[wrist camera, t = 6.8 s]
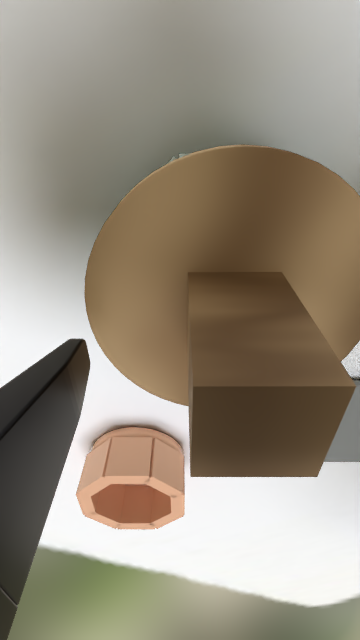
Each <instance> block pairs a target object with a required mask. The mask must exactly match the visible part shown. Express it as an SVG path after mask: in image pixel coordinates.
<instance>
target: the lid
mask: <svg viewBox="0 0 360 640" xmlns="http://www.w3.org/2000/svg"><path fill="white" fill-rule="evenodd" d="M85 303H86V311H87V315H88V319H89V323H90V326H91V329H92V331H93V334H94V336H95V338H96V340H97V342H98V344H99V346H100V347H101V349H102V351H103V352H104V354H105V355H106V356H107V358H108V359H109V360H110V361H111V363H112V364H113V365H114V366H115V367H116V368H117V369H118V370H119V371H120V372H121V373H122V374H123V375H124V376H125V377H127V378H128V379H129V380H131V381H132V382H133V383H135V384H136V385H137V386H139V387H141V388H142V389H144V390H146V391H147V392H149V393H151V394H153V395H156V396H158V397H160V398H162V399H165V400H168V401H171V402H174V403H177V404H181V405H186V406H189V436H190V473H191V477H317V476H318V474H319V471H320V469H321V467H322V464H323V462H324V460H325V457H326V455H327V453H328V451H329V448H330V446H331V444H332V441H333V439H334V437H335V434H336V432H337V430H338V428H339V425H340V423H341V421H342V418H343V416H344V414H345V411H346V409H347V407H348V405H349V402H350V400H351V398H352V395H353V393H354V391H355V388H356V385H355V383H354V382H353V380H352V379H351V377H350V376H349V374H348V373H347V371H346V370H345V368H344V366H343V365H342V363H341V361H342V360H343V359H344V358H345V357H346V356H347V355H348V354H349V353H350V352H351V350H352V349H353V348H354V347H355V345H356V344H357V343H358V342H359V340H360V196H359V195H358V194H357V192H356V191H355V190H354V189H353V188H352V187H351V186H350V185H349V184H348V183H347V182H345V181H344V180H343V179H342V178H341V177H340V176H339V175H337V174H336V173H334V172H333V171H331V170H329V169H328V168H326V167H324V166H323V165H321V164H320V163H318V162H315V161H313V160H310V159H308V158H305V157H303V156H300V155H298V154H295V153H292V152H289V151H285V150H281V149H276V148H272V147H268V146H258V145H244V144H241V145H229V146H218V147H214V148H209V149H205V150H200V151H196V152H193V153H191V154H188V155H186V156H183V157H180V158H178V159H175V160H173V161H171V162H170V163H168V164H166V165H164V166H162V167H161V168H159V169H157V170H155V171H154V172H152V173H151V174H150V175H148V176H147V177H146V178H145V179H143V180H142V181H141V182H139V183H138V184H137V185H136V186H135V187H134V188H133V189H132V190H131V191H130V192H129V193H128V194H127V195H126V196H125V197H124V198H123V199H122V200H121V201H120V203H119V204H118V205H117V207H116V208H115V210H114V211H113V212H112V214H111V215H110V216H109V218H108V219H107V221H106V222H105V223H104V225H103V227H102V229H101V231H100V233H99V235H98V236H97V238H96V240H95V242H94V245H93V248H92V251H91V254H90V257H89V260H88V265H87V270H86V276H85Z"/></svg>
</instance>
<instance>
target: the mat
mask: <svg viewBox="0 0 360 640" xmlns="http://www.w3.org/2000/svg"><path fill="white" fill-rule="evenodd" d="M353 382H354V383H355V385H356V388H355V391H354V393H353V395H352V398H351V400H350V402H349V405H348V407H347V409H346V411H345V414H344V416H343V418H342V421H341V423H340V425H339V428H338V430H337V432H336V434H335V437H334V439H333V441H332V444H331V446H330V448H329V451H328V453H327V455H326V457H325V460H324V462H360V380H353Z"/></svg>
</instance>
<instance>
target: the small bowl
mask: <svg viewBox="0 0 360 640" xmlns="http://www.w3.org/2000/svg"><path fill="white" fill-rule="evenodd" d="M76 496H77V499H78V501H79V504H80V507H81V510H82V513H83V515H85V516H86V517H88V518H91V519H93V520H95V521H98V522H100V523H103V524H105V525H108V526H110V527H112V528H115V529H116V528H118V529H155V528H156V529H158V528H160V527H162V526H164V525H166V524H168V523H170V522H172V521H174V520H176V519H178V518H181V517H183V515H184V497H185V492H184V453H183V450H182V448H181V446H180V445H179V444H178V443H177V442H176V441H175V440H174V439H173V438H171V437H170V436H168V435H166V434H164V433H162V432H159V431H156V430H152V429H148V428H138V427H130V428H121V429H117V430H113V431H110V432H108V433H106V434H104V435H103V436H101V437H100V438H99V439H98V440H97V441H96V442H95V443H94V445H93V448H92V451H91V452H90V453H89V454H87V457H86V460H85V464H84V467H83V471H82V475H81V478H80V482H79V485H78V489H77V492H76Z"/></svg>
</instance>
